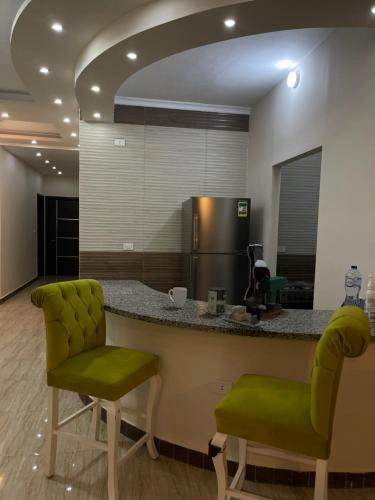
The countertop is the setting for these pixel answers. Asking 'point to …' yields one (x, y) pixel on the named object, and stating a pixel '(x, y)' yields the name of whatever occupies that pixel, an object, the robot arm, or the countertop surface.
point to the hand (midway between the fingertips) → (259, 321)
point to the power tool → (275, 292)
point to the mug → (178, 296)
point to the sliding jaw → (247, 317)
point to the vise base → (246, 322)
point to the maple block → (237, 311)
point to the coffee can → (217, 300)
